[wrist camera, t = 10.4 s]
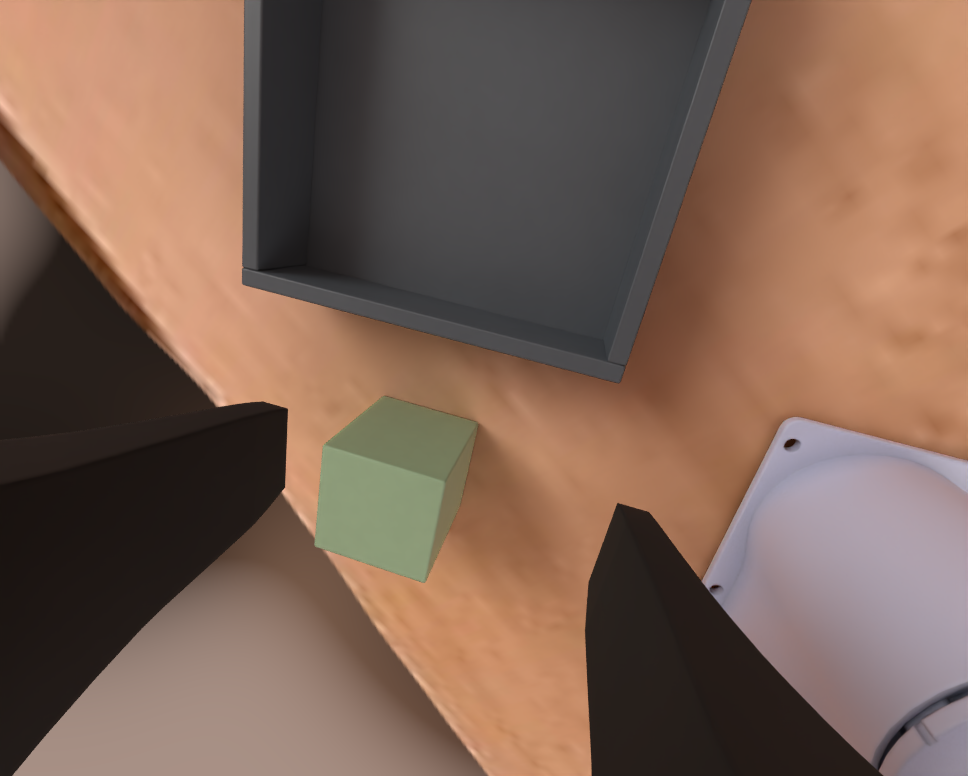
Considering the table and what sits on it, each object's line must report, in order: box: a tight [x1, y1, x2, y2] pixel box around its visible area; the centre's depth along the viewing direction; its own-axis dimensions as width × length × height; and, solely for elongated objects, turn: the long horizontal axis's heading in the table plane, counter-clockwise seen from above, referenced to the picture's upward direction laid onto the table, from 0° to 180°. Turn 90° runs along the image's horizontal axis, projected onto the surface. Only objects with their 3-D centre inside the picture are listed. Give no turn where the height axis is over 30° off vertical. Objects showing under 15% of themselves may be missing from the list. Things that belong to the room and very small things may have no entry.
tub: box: [242, 0, 752, 383], centre depth 14 cm, size 13×13×3 cm
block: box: [315, 396, 478, 583], centre depth 18 cm, size 4×4×5 cm
